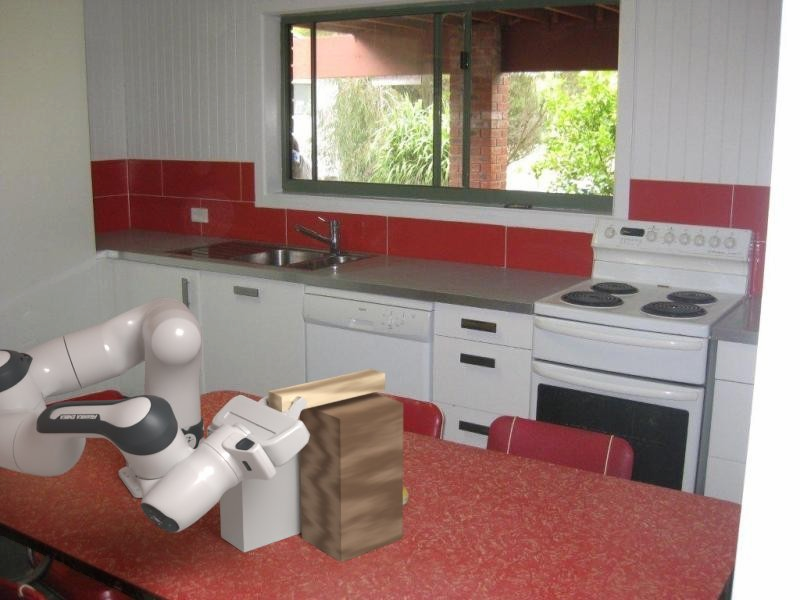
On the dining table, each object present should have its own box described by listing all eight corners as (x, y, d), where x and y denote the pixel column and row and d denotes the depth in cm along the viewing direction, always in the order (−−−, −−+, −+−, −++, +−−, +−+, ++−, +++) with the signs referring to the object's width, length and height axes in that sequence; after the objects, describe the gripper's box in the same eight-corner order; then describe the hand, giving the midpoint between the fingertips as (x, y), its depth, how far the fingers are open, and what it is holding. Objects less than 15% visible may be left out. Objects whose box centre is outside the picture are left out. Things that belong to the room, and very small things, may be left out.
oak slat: (268, 408, 155) (268, 391, 155) (371, 384, 169) (371, 368, 169) (282, 414, 152) (281, 396, 152) (385, 389, 166) (385, 373, 166)
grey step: (221, 537, 170) (218, 454, 167) (289, 514, 179) (287, 436, 176) (244, 552, 164) (241, 467, 161) (313, 528, 174) (312, 447, 170)
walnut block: (301, 538, 169) (299, 402, 164) (361, 517, 178) (361, 388, 173) (341, 562, 161) (340, 419, 155) (402, 539, 170) (403, 403, 164)
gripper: (210, 447, 159) (268, 395, 165) (276, 483, 144) (337, 424, 150) (192, 420, 156) (252, 368, 162) (257, 454, 140) (321, 395, 147)
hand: (294, 395), depth 156 cm, fingers closed on oak slat, 4 cm apart
